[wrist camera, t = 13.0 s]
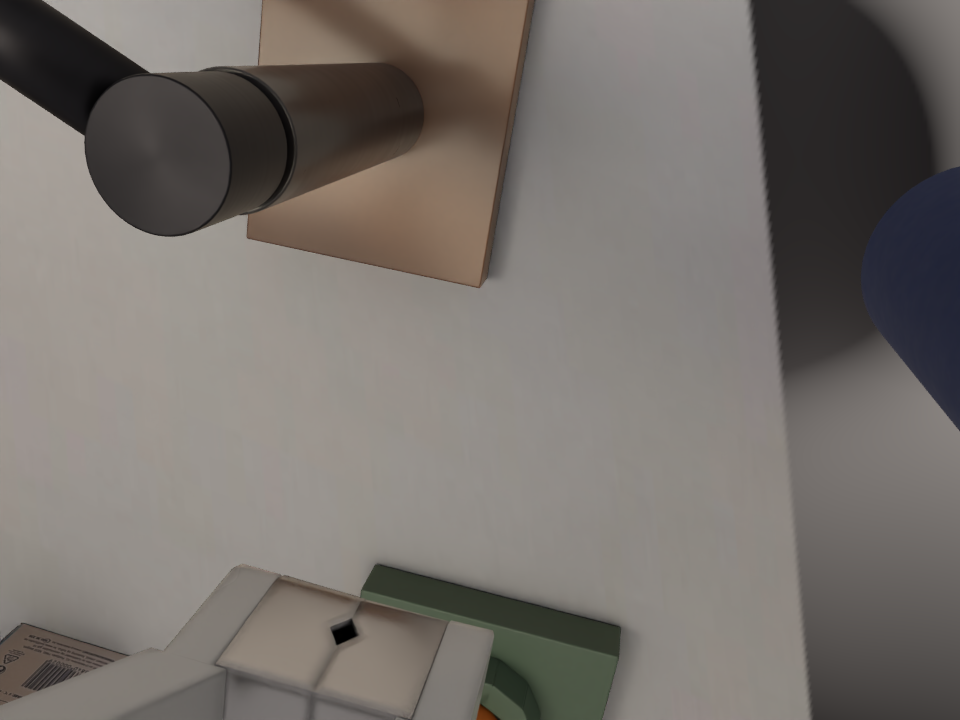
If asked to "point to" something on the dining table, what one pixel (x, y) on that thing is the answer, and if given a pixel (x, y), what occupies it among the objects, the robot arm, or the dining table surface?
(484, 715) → the button
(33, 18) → the spout
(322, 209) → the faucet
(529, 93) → the dining table surface
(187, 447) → the dining table surface
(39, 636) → the juice carton
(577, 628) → the push button box
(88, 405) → the dining table surface
